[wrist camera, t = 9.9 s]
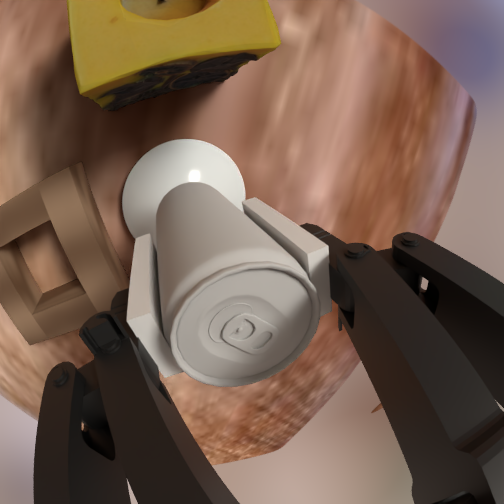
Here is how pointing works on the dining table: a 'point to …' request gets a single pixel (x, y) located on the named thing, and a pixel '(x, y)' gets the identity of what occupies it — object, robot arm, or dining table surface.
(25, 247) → the dining table surface
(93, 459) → the robot arm
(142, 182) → the white round domed part
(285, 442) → the dining table surface
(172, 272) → the beverage can
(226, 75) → the candle
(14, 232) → the socket block
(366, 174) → the dining table surface
